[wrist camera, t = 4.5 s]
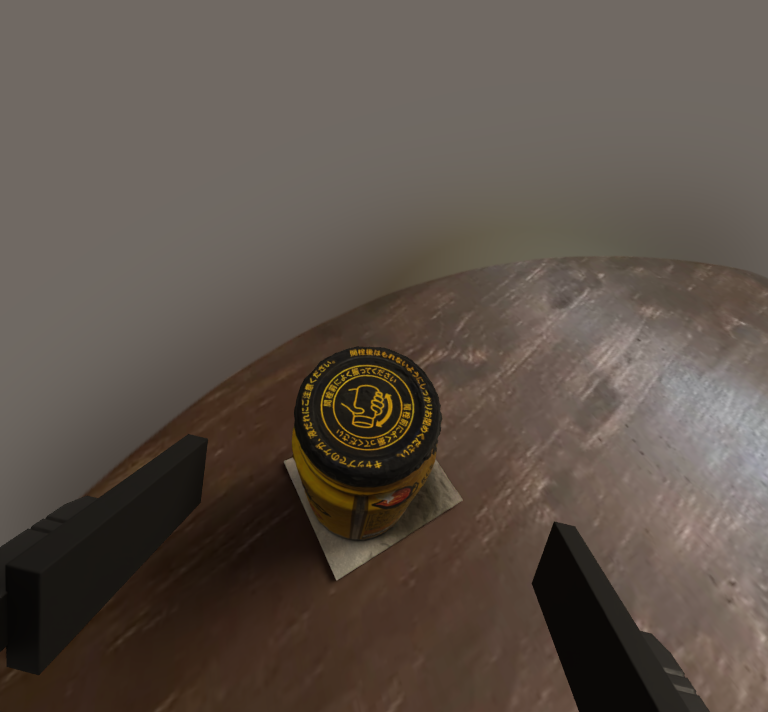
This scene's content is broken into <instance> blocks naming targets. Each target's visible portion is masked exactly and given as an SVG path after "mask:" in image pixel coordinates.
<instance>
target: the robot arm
mask: <svg viewBox="0 0 768 712" xmlns="http://www.w3.org/2000/svg"><path fill="white" fill-rule="evenodd" d="M207 443H208V439H207V438H203V437H198V436H194V435H190V434H188V435H187V436H185V437H184V438H182V439H181V440H180V441H178V442H177V443H175V444H174V445H173V446H171V447H170V448H168V449H167V450H166V451H164V452H163V453H161V454H160V455H159V456H157V457H156V458H154V459H153V460H151V461H150V462H149V463H147V464H146V465H144V466H143V467H142V468H140V469H139V470H137V471H136V472H135V473H133V474H132V475H130V476H129V477H128V478H126V479H125V480H123V481H122V482H121V483H119V484H118V485H116V486H115V487H114V488H112V489H111V490H109V491H108V492H107V493H105V494H104V495H102V496H101V497H100V498H94V497H90V496H85V497H82V498H80V499H77V500H75V501H72V502H70V503H67V504H65V505H63V506H62V507H60V508H59V509H57V510H56V511H54V512H53V513H51V514H49V515H48V516H47V517H46V519H42V520H40V521H39V522H37V523H36V524H34V525H33V526H32V527H31V529H27V530H25V531H24V532H22V533H21V534H19V535H18V536H16V537H15V538H13V539H12V540H10V541H9V542H7V543H6V544H4V545H3V546H1V547H0V652H1V651H2V650H3V649H4V648H5V647H6V654H7V667H10V668H14V669H17V670H21V671H25V672H29V673H32V674H36V675H40V674H41V672H42V671H43V670H44V669H45V668H46V667H47V666H48V665H49V664H50V663H51V662H52V661H53V660H54V659H55V657H56V656H57V655H58V654H59V653H60V652H61V651H62V650H63V649H64V648H65V647H66V646H67V645H68V644H69V643H70V641H71V640H72V639H73V638H74V637H75V636H76V635H77V634H78V633H79V632H80V631H81V630H82V629H83V628H84V626H85V625H86V624H87V623H88V622H89V621H90V620H91V619H92V618H93V617H94V616H95V615H96V614H97V613H98V612H99V610H100V609H101V608H102V607H103V606H104V605H105V604H106V603H107V602H108V601H109V600H110V599H111V598H112V597H113V595H114V594H115V593H116V592H117V591H118V590H119V589H120V588H121V587H122V586H123V585H124V584H125V583H126V582H127V581H128V579H129V578H130V577H131V576H132V575H133V574H134V573H135V572H136V571H137V570H138V569H139V568H140V567H141V566H142V565H143V563H144V562H145V561H146V560H147V559H148V558H149V557H150V556H151V555H152V554H153V553H154V552H155V551H156V550H157V548H158V547H159V546H160V545H161V544H162V543H163V542H164V541H165V540H166V539H167V538H168V537H169V536H170V535H171V534H172V532H173V531H174V530H175V529H176V528H177V527H178V526H179V525H180V524H181V523H182V522H183V521H184V520H185V519H186V517H187V516H188V515H189V514H190V513H191V512H192V511H193V510H194V509H195V508H196V507H197V506H198V505H199V504H200V503H201V494H202V486H203V477H204V469H205V460H206V452H207ZM532 586H533V588H534V591H535V594H536V596H537V599H538V602H539V605H540V607H541V610H542V613H543V615H544V618H545V621H546V623H547V626H548V629H549V632H550V634H551V637H552V640H553V642H554V645H555V648H556V650H557V653H558V656H559V659H560V661H561V664H562V667H563V669H564V672H565V675H566V677H567V680H568V683H569V686H570V688H571V691H572V694H573V696H574V699H575V702H576V705H577V707H578V710H579V712H710V711H709V710H708V708H707V707H706V705H705V704H704V702H703V701H702V699H701V698H700V696H698V695H697V694H696V690H695V689H694V687H693V686H692V684H691V683H690V681H689V680H688V678H685V676H684V672H683V671H682V669H681V668H680V666H679V665H678V663H677V662H676V660H675V659H674V657H673V656H672V654H671V653H670V652H669V651H668V650H667V649H666V648H665V647H664V646H663V645H662V644H661V643H660V642H659V641H658V640H657V639H656V638H655V637H654V636H653V635H652V634H651V633H647V632H643V631H640V630H639V628H638V627H637V625H636V624H635V622H634V620H633V619H632V617H631V616H630V614H629V612H628V611H627V609H626V608H625V606H624V604H623V603H622V601H621V600H620V598H619V596H618V595H617V593H616V592H615V590H614V588H613V587H612V585H611V584H610V582H609V580H608V579H607V577H606V575H605V574H604V572H603V571H602V569H601V567H600V566H599V564H598V563H597V561H596V559H595V558H594V556H593V555H592V553H591V551H590V550H589V548H588V547H587V545H586V543H585V542H584V540H583V539H582V537H581V535H580V534H579V532H578V531H577V529H576V527H575V526H571V525H567V524H563V523H558V522H554V523H553V526H552V529H551V531H550V534H549V537H548V540H547V543H546V545H545V548H544V551H543V554H542V556H541V559H540V562H539V565H538V568H537V570H536V573H535V576H534V579H533V581H532Z"/></svg>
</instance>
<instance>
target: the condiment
mask: <svg viewBox="0 0 768 712" xmlns="http://www.w3.org/2000/svg"><path fill="white" fill-rule="evenodd" d="M440 406H441V405H440V403H439V397H438V394H437V392H436V390H435V388H434V386H433V384H432V382H431V381H430V380H429V378H428V377H427V375H426V373H425V372H424V371H423V370H422V369H421V368H420V367H419V366H418V365H417V364H415V363H414V362H413V361H412V360H411V359H409V358H408V357H406V356H404V355H401V354H399V353H397V352H395V351H392V350H390V349H386V348H381V347H354V348H349V349H346V350H343V351H341V352H338V353H335V354H333V355H332V356H330V357H327V358H326V359H324V360H322V361H321V362H320V363H319V364H318V365H317V367H316V368H315V369H314V370H313V371H312V372H311V373H310V374H309V375H308V376H307V377H306V378H305V379H304V381H303V383H302V385H301V387H300V390H299V393H298V397H297V400H296V406H295V409H294V417H295V423H294V428H293V435H292V451H293V458H291V459H288V460H286V461H284V463H285V466H286V468H287V470H288V472H289V475H290V477H291V480H292V481H293V484H294V486H295V488H296V490H297V493H298V495H299V497H300V499H301V502H302V504H303V506H304V509H305V511H306V513H307V515H308V517H309V520H310V522H311V524H312V526H313V529H314V531H315V533H316V536H317V538H318V540H319V542H320V545H321V547H322V549H323V551H324V553H325V556H326V558H327V560H328V563H329V565H330V567H331V569H332V572H333V574H334V576H335V578H336V581H337V580H338V579H340V578H341V577H343V576H344V575H346V574H348V573H349V572H351V571H352V570H354V569H355V568H357V567H359V566H360V565H362V564H363V563H365V562H366V561H368V560H370V559H371V558H373V557H374V556H376V555H378V554H379V553H381V552H382V551H384V550H385V549H387V548H389V547H390V546H392V545H393V544H395V543H396V542H398V541H400V540H401V539H403V538H404V537H406V536H407V535H409V534H410V533H412V532H414V531H415V530H417V529H418V528H420V527H421V526H423V525H425V524H426V523H428V522H429V521H431V520H433V519H434V518H436V517H437V516H439V515H440V514H442V513H443V512H445V511H446V510H448V509H450V508H451V507H453V506H454V505H456V504H458V503H459V502H461V501H462V498H461V497H460V495H459V494H458V492H457V490H456V489H455V488H454V487H453V485H452V484H451V482H450V480H449V479H448V477H447V476H446V474H445V473H444V471H443V469H442V468H441V467H440V465H439V463H438V462H437V461H436V459H435V458H436V451H437V443H438V439H437V438H438V436H439V435H440V431H441V425H440V424H441V421H442V414H441V412H440Z"/></svg>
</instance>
